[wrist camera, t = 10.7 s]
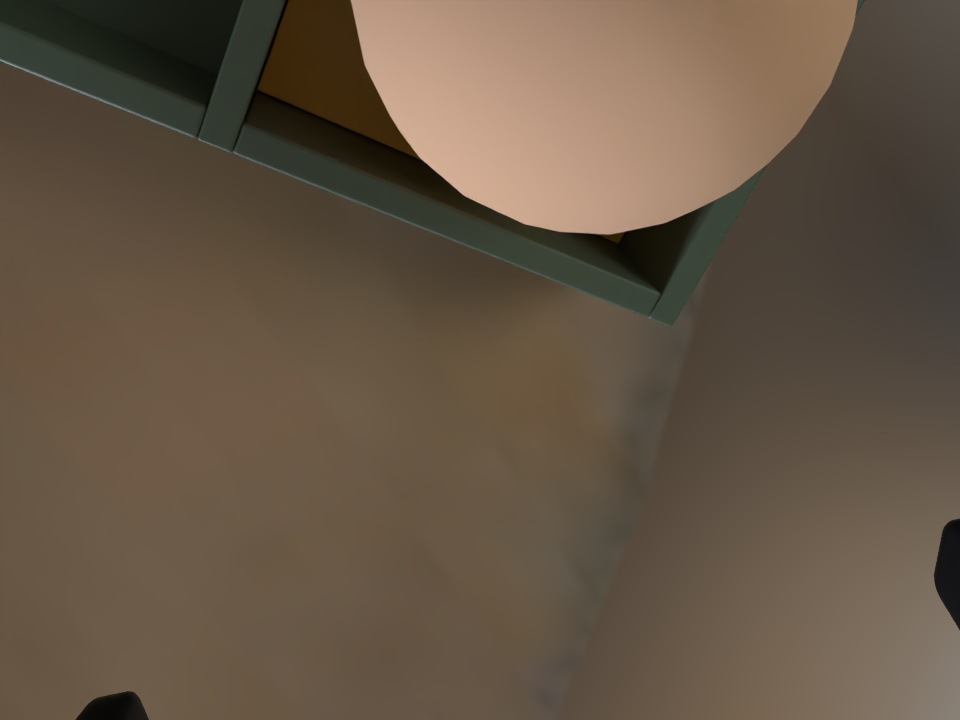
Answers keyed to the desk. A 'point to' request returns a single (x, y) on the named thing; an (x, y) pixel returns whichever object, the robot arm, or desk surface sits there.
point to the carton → (331, 128)
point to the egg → (600, 97)
